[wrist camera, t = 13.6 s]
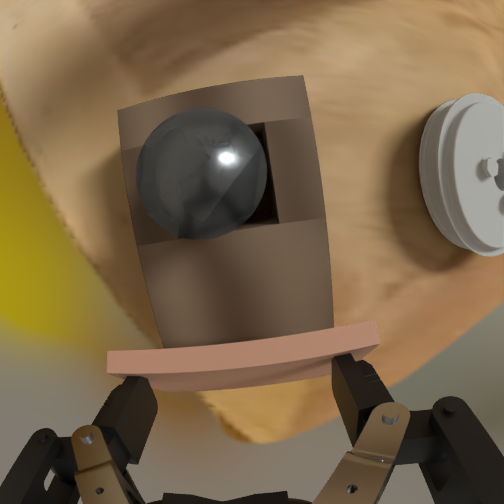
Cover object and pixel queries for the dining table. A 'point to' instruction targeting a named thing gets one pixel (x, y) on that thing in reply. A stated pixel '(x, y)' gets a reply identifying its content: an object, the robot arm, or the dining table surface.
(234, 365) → the pink flat board
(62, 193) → the dining table surface
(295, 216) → the socket block
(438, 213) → the lid
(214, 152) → the pin
